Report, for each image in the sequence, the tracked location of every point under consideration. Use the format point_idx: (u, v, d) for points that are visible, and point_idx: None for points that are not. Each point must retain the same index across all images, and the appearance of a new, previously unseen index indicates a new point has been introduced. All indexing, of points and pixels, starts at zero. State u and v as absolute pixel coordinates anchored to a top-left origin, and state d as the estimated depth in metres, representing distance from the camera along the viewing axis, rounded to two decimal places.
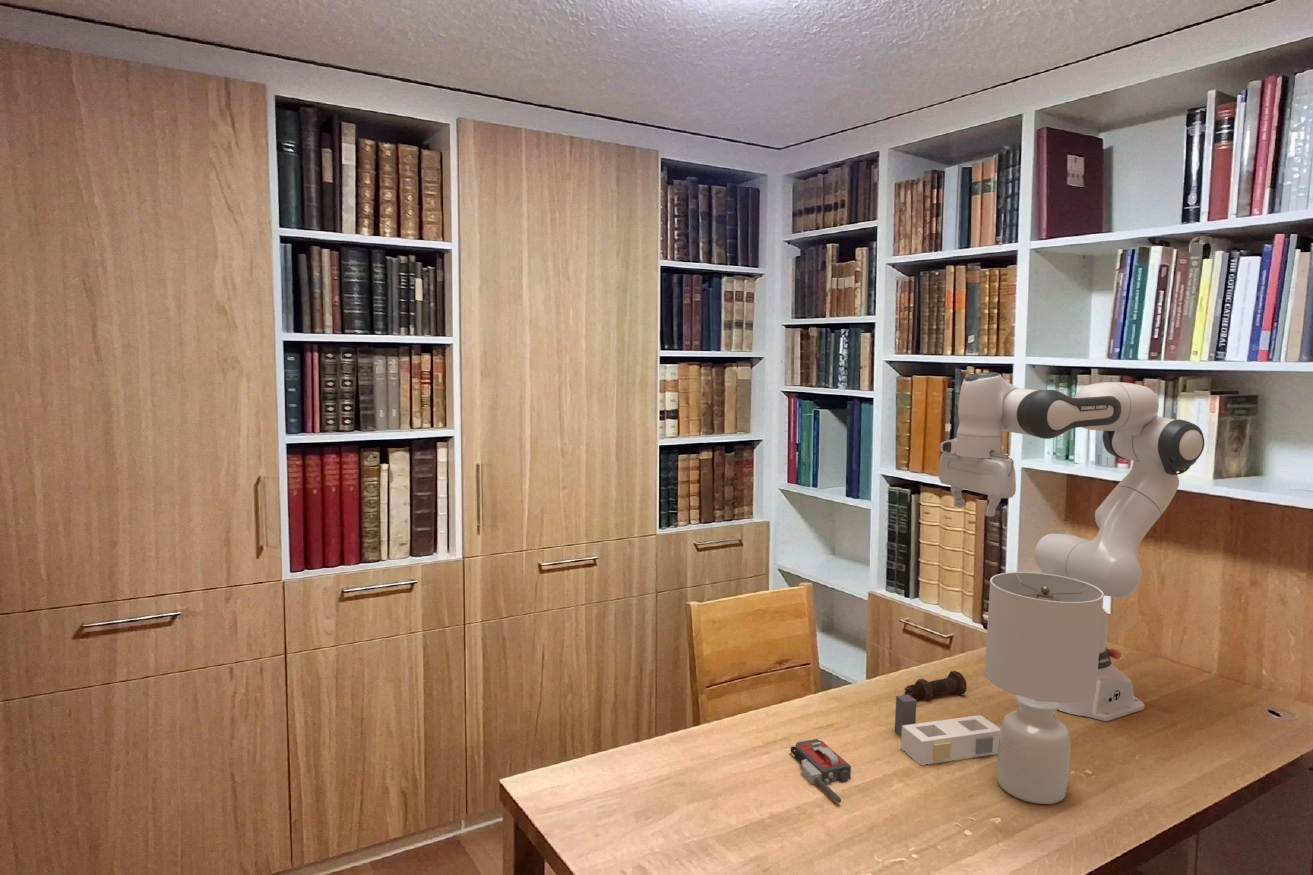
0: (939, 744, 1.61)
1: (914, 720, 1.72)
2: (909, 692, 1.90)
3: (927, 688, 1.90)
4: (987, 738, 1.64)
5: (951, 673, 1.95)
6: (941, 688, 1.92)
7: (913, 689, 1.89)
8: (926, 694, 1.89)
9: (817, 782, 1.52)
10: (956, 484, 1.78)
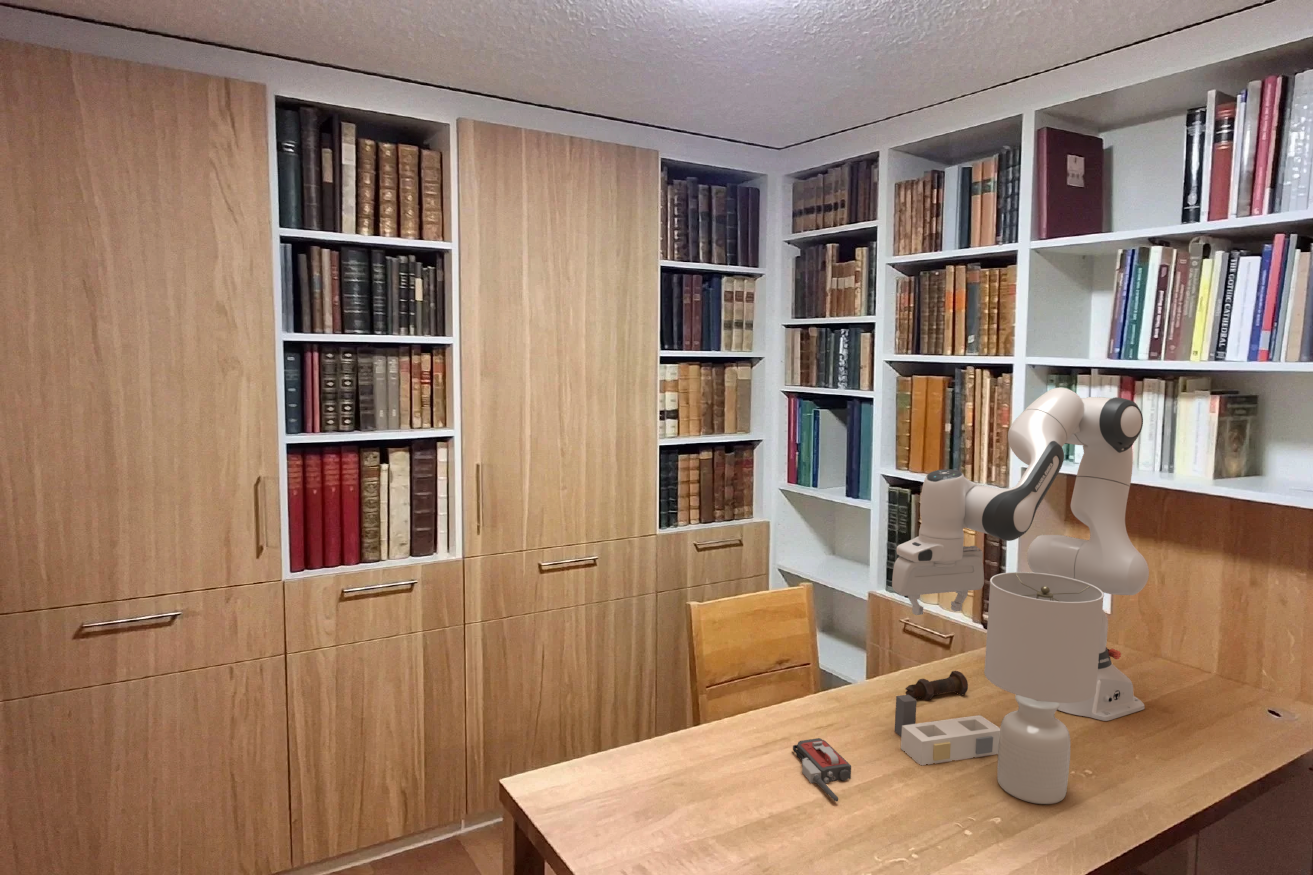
0: (939, 744, 1.61)
1: (914, 720, 1.72)
2: (910, 692, 1.90)
3: (928, 688, 1.90)
4: (987, 738, 1.64)
5: (952, 673, 1.95)
6: (942, 688, 1.92)
7: (914, 689, 1.90)
8: (927, 694, 1.89)
9: (816, 781, 1.52)
10: (927, 591, 1.67)
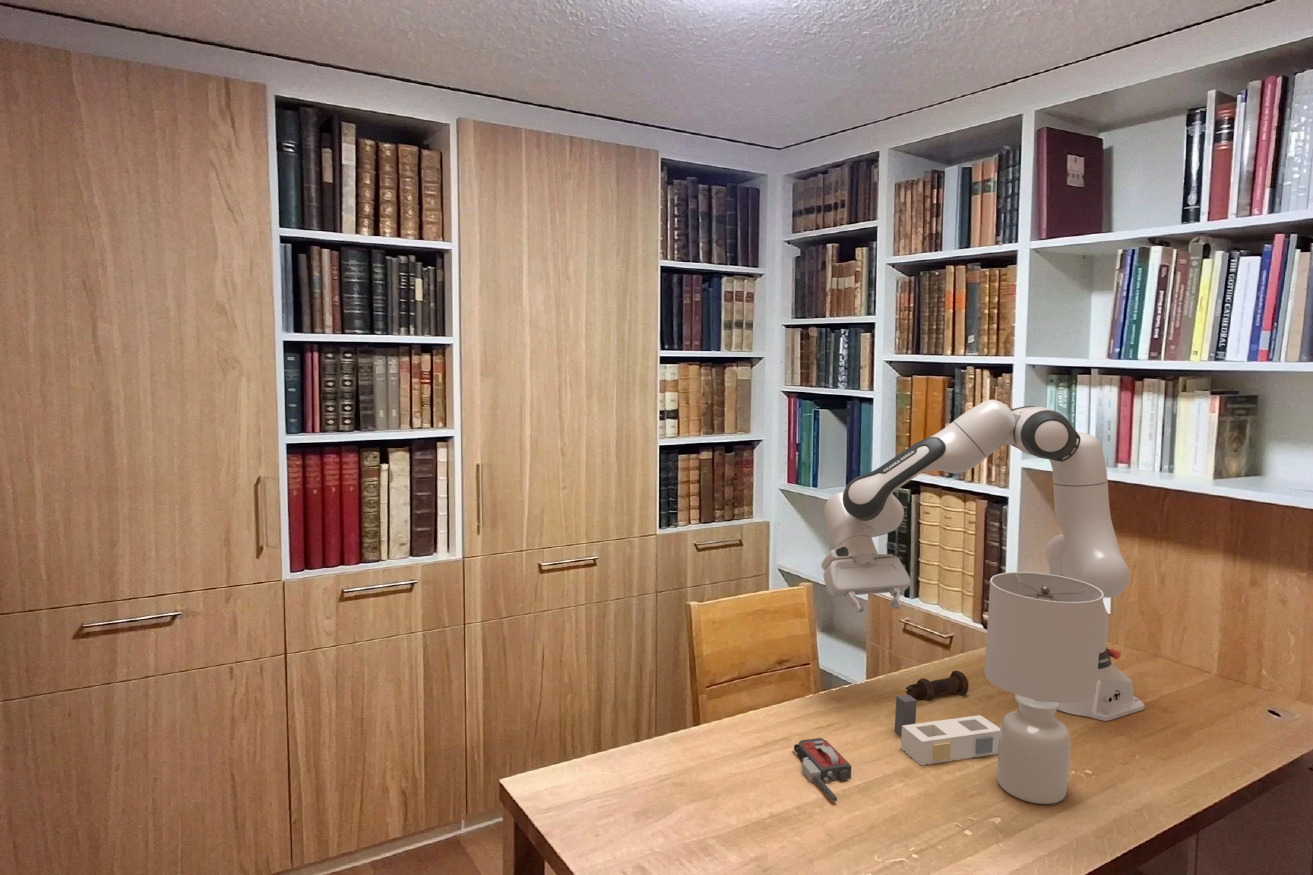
0: (939, 744, 1.61)
1: (914, 720, 1.72)
2: (910, 691, 1.90)
3: (928, 687, 1.90)
4: (987, 738, 1.64)
5: (953, 673, 1.95)
6: (943, 688, 1.92)
7: (914, 688, 1.90)
8: (927, 693, 1.90)
9: (815, 780, 1.53)
10: (859, 585, 1.83)
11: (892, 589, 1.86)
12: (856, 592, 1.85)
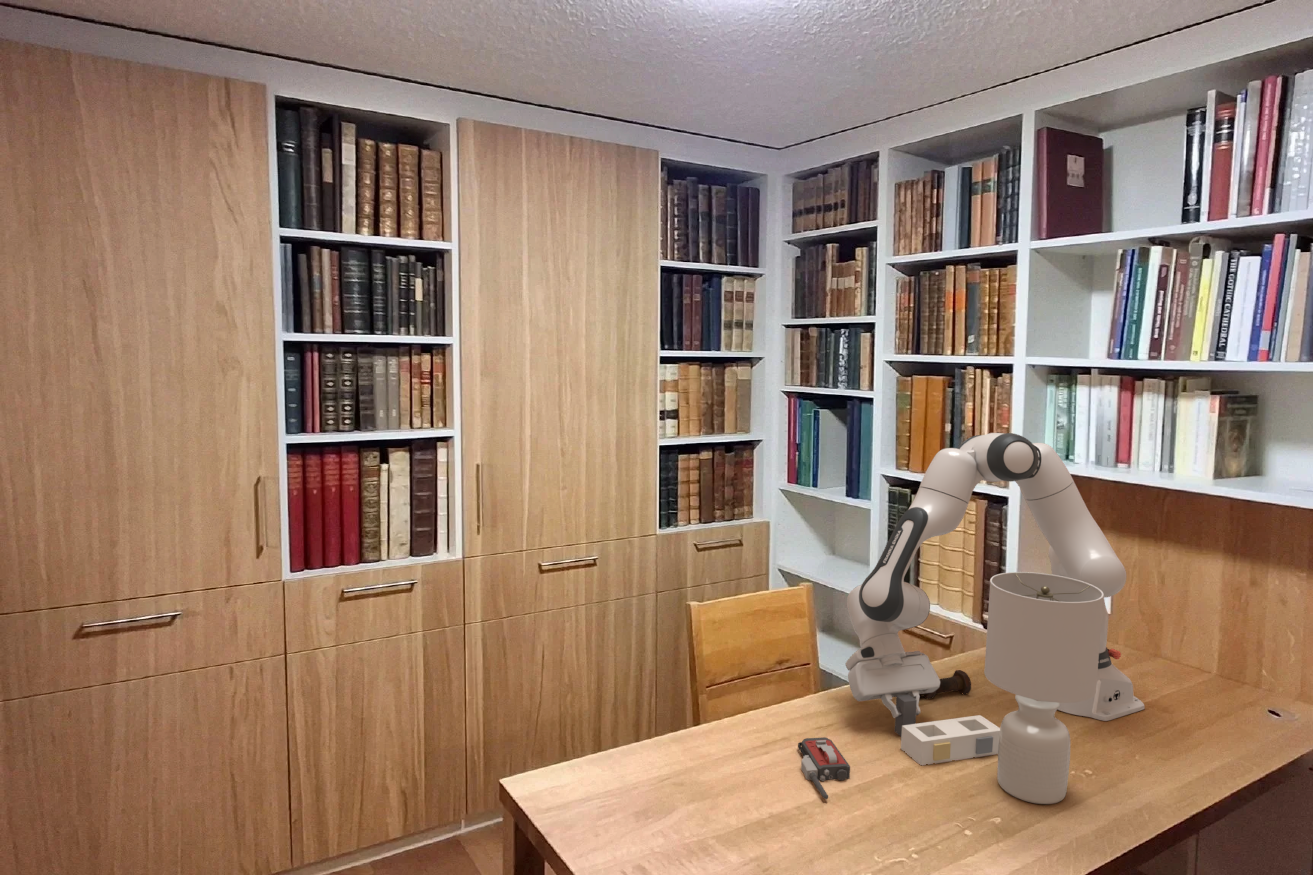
0: (939, 744, 1.61)
1: (914, 720, 1.72)
2: None
3: None
4: (987, 738, 1.64)
5: (956, 672, 1.96)
6: (945, 687, 1.92)
7: None
8: None
9: (811, 778, 1.53)
10: (886, 689, 1.73)
11: (911, 693, 1.76)
12: None
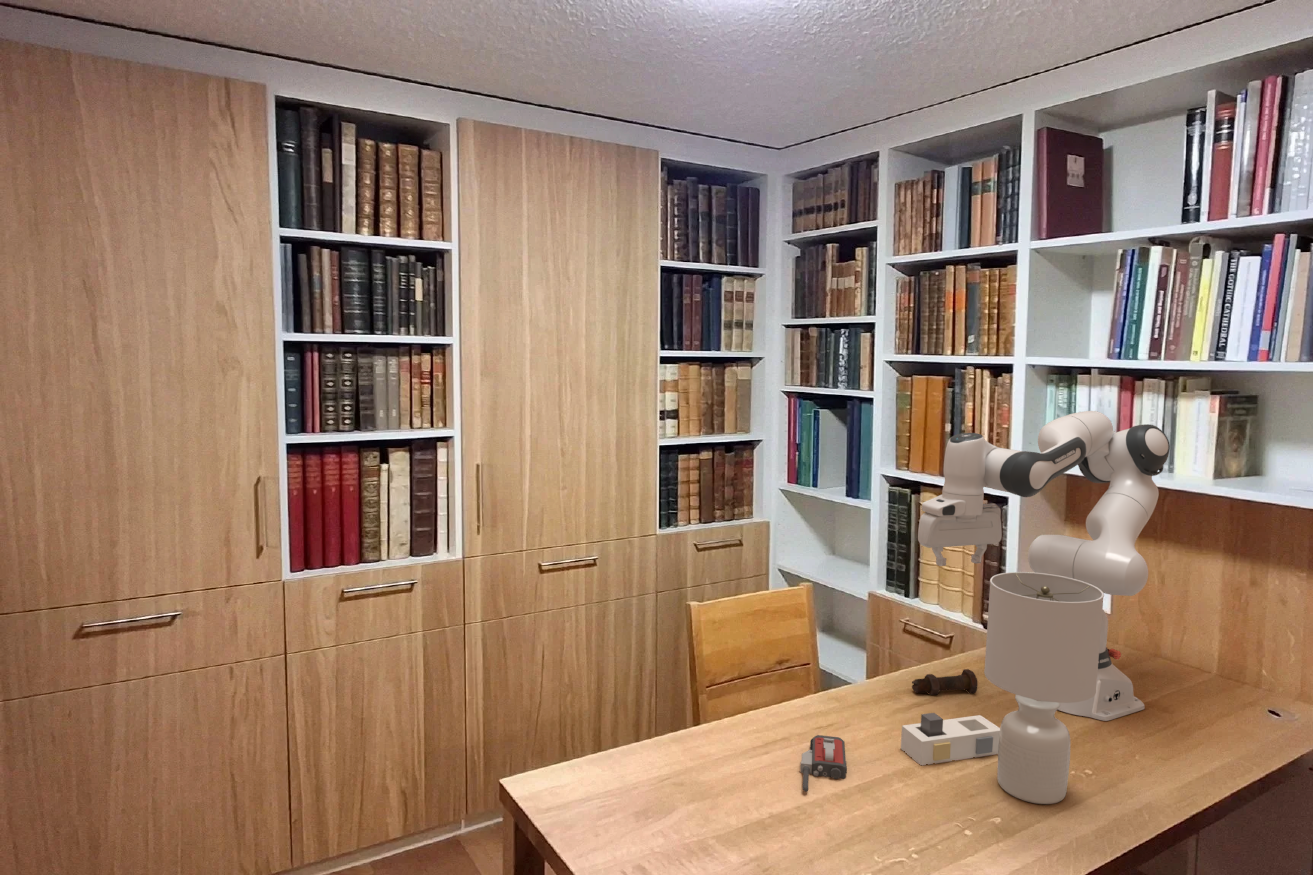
0: (939, 744, 1.61)
1: None
2: (915, 685, 1.93)
3: (933, 683, 1.93)
4: (987, 738, 1.64)
5: (964, 671, 1.97)
6: (950, 684, 1.94)
7: (919, 683, 1.93)
8: (932, 689, 1.92)
9: (803, 770, 1.56)
10: (950, 544, 1.82)
11: None
12: None
